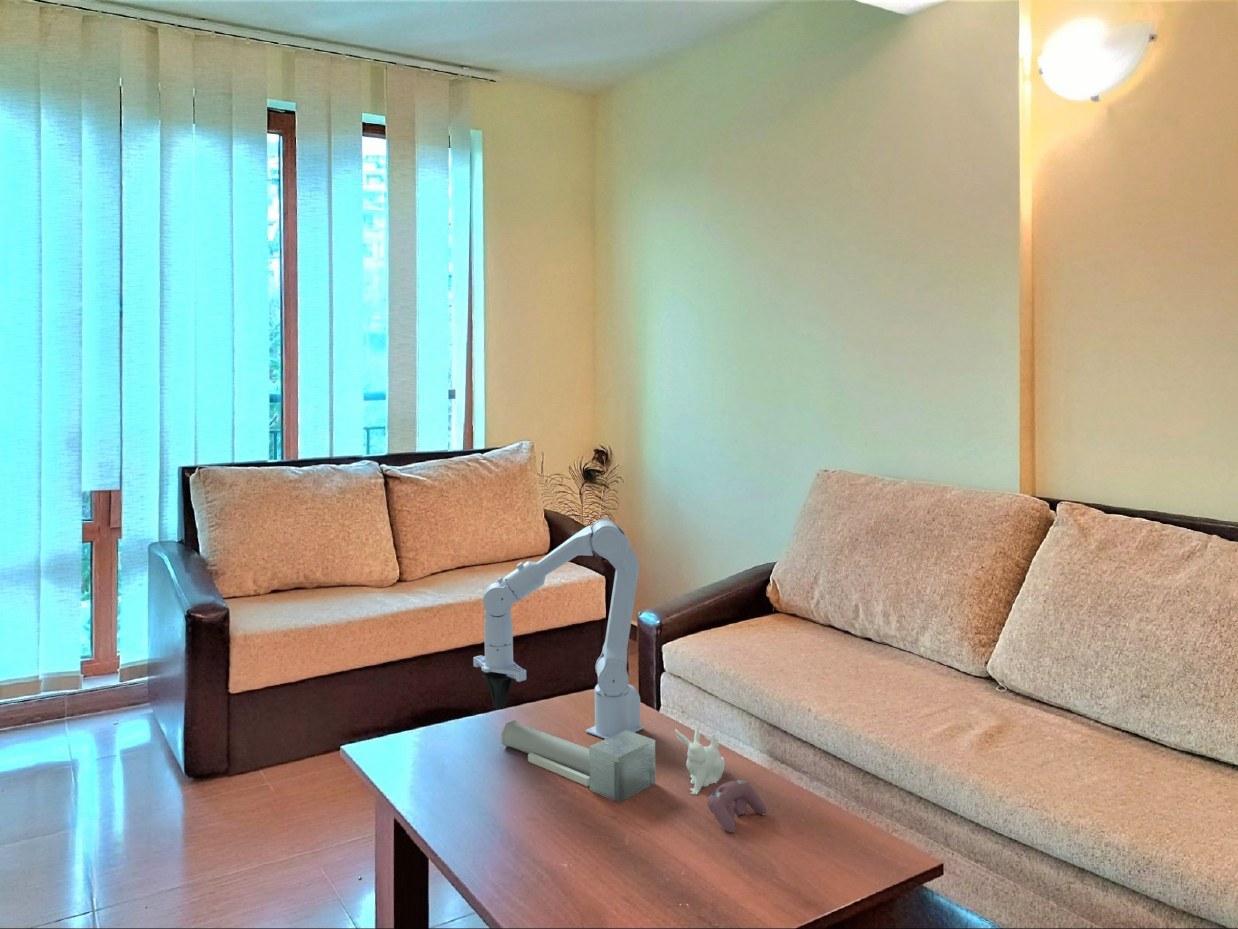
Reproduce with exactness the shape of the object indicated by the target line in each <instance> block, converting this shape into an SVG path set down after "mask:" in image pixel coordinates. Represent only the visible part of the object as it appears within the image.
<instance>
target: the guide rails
mask: <svg viewBox="0 0 1238 929" xmlns="http://www.w3.org/2000/svg"><path fill="white" fill-rule="evenodd" d="M527 762H529V763H532V764H534V765H536V766H539V767H541V768H543V769H546V770H548V771H551V772H553V773H556V775H559V776H562V777H564V778H567V779H569V780H571V781H573V782H576V783H579V784H581V785H583V786H585V787H590V777H589V776H587V775H585V774H582V773H580V772H577V771H575V770H573V769H570V768H568V767H565V766H563V765H561V764H558V763H556V762H553V761H551V760H549V759H546V758H544V757H541V756H539V755H536V754H534V753H530V754H528V753H527Z"/></svg>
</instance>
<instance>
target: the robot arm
mask: <svg viewBox="0 0 1238 929" xmlns="http://www.w3.org/2000/svg"><path fill="white" fill-rule="evenodd" d="M593 551H594V552H595V553H596V554H598V555H599V557H603V558H604V559H605V560H607V561H609V564H611V565H612V567H613V569H615V572H614V579H613V587H612V593H611V599H610V607H609V613H608V620H607V626H606V632H605V639H604V643H603V645H602V651H601V654H600V656H598V658H597V660H596V662H595V665H594V666H595V667H594V668H595V673H596V674H597V684H596V685H595V687H594V726H592V727H589V728H587V729H586V730H585V731H586V733H588V734H591V735H594V736H595V737H598V738H602V739H603V740H605V739H607V738H609V737H612V736H614V735H616V734H618V733H621V732H623V731H625V730H628V731H631V732H634V733H637V732H639V731H641V730H643V729H644V725H641V696H640V694H639V691H638V690H637V688H636V687H635V686H633V685H632V684H629V682H630V676H629V674H628V670H627V665H628V645H629V639H630V633H631V627H632V626H631V625H632V619H633V618H632V617H633V613H634V606H635V601H636V600H635V599H636V594H637V585H638V580H639V573H640V568H641V567H640V566H641V565H640V561H639V558H638V556H637V555H636V553H635V551H634V548H633V547H632V545H631V543H630V541H629V539H628V537H627V535H626V533H625V531H624V530H623V529H622V528H621V527H620V526H619V525H618V524H617V523H616V522H615V521H614V520H611V519H608V518H602V519H598V520H596V521H595V522H594V523H593V524H592V525H588V526H586V527H584V528H582V529H580V531H577V532H576V533H575V534H573V535H572V536H571V537H569V538H568V539H566V540H565V541H564V542H562V544H561V543H560V545H558V546H557V547H556V548H554V549H553V550H551V551H550V552H549V553H548V554H546V555H545V556H544V557H543V558H540V560H539V561H530V560H527V561H526V562H524V563H523V562H522V561H521V562H519V563H518V564H516V569H514V570H513V571H512V572H510V573H508V574H507V575H505V576H504V577H502V576H500V577H499V578H497V582H493V583H491V584H490V585H489V586H487V588H486V589H485V590H484V595H483V599H482V604H483V608H484V615H483V616H484V621H483V626H484V627H483V628H484V632H483V633H484V639H483V640H484V655H481V654H480V655H476V656H474V657H473V659H472V660H473V667H475V668H481V671H482V672H483V673H484V674H482V676H481V677H482V680H483V681H484V683H485V685H486V687H487V689H488V691H489V695H490V698H491V701H492V704H493V708H494V709H496V710H501V709H504V708H506V707H507V703H508V697H509V694H510V692H511V688H512V686H513V684H514V682H515V681H516V682H519V683H520V682H522V681H526V680H527V670H526V669H524V668H522V666H519V665H518V664H517V663H516V662H515V661H514V633H513V632H514V631H513V630H514V629H513V625H514V623H513V619H512V608H513V604H514V603H519V602H520V601H522V600H524V599H525V598H526V597H527V596H529V595H530V594H532V593H534V592H535V591H537V590H538V589H539V588H541V587H542V586H544V584H545V580H546V576H548V575H549V574H551V573H552V572H554V571H555V570H557V569H558V568H560V567H562V566H564V565H565V564H567V563H568V562H570V561H572V560H573V559H574V558H576V557H577V556H589V557H590V556H591V557H593V555H594V554H593Z"/></svg>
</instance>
